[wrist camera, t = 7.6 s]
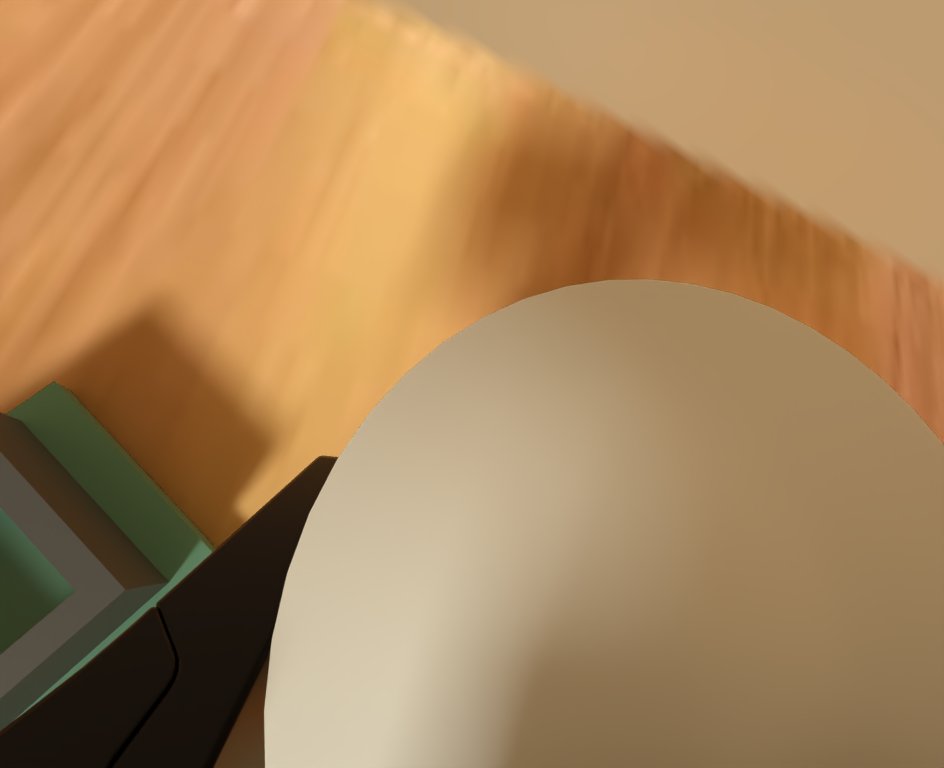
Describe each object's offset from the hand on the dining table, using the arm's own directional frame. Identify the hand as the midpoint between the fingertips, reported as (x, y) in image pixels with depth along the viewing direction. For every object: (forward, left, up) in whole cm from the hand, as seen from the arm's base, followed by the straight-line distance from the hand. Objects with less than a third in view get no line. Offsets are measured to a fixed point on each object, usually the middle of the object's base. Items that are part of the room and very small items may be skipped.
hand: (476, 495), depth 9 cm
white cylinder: (-1, +1, -7) cm, 7 cm away
